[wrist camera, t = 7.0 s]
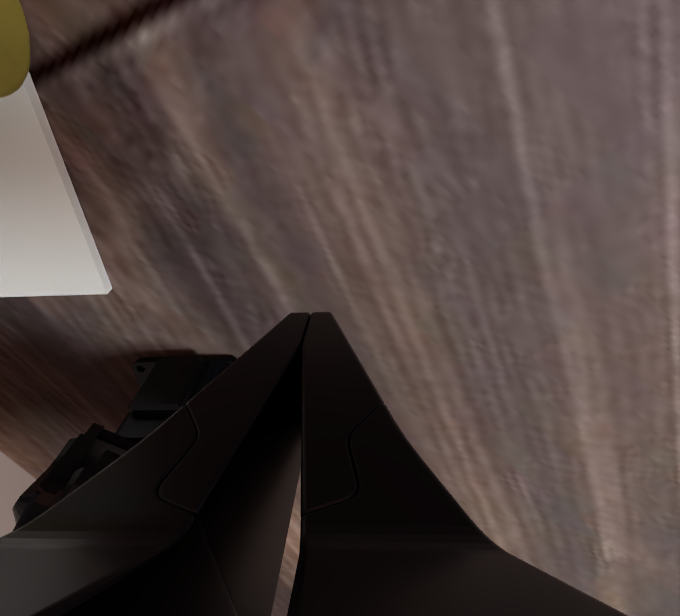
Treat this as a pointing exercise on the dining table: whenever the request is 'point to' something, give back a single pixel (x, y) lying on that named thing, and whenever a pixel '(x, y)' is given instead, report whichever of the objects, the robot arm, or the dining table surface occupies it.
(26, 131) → the mat
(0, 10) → the vase
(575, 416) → the dining table surface
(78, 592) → the robot arm
